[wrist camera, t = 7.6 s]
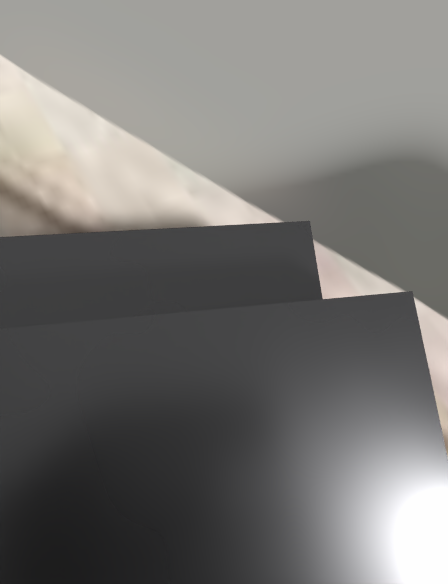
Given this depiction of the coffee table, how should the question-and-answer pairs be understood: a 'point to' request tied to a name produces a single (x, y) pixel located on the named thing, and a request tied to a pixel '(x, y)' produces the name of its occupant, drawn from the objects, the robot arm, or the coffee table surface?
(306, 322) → the stepped grey pillar
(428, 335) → the coffee table surface
